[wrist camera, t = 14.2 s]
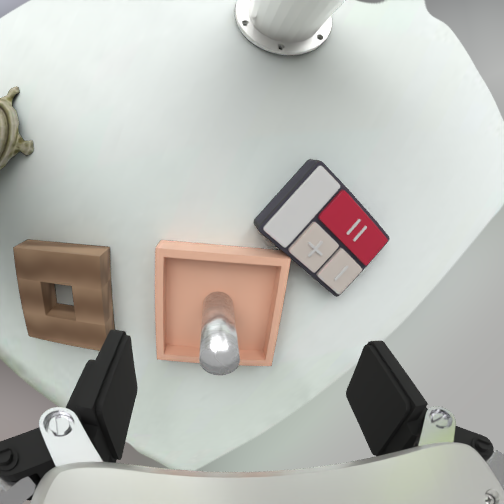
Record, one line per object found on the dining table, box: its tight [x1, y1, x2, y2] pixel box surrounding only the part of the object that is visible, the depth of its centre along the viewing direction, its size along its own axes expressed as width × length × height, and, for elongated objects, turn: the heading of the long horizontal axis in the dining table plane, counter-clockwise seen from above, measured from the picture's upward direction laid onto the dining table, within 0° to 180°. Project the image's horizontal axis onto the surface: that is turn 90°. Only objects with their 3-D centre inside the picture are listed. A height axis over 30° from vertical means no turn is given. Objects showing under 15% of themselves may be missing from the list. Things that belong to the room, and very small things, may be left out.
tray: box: [155, 240, 291, 366], centre depth 39 cm, size 16×16×4 cm
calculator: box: [254, 159, 389, 297], centre depth 38 cm, size 11×4×15 cm
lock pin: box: [199, 292, 240, 375], centre depth 34 cm, size 4×4×12 cm
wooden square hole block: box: [13, 240, 115, 351], centre depth 36 cm, size 14×14×4 cm
